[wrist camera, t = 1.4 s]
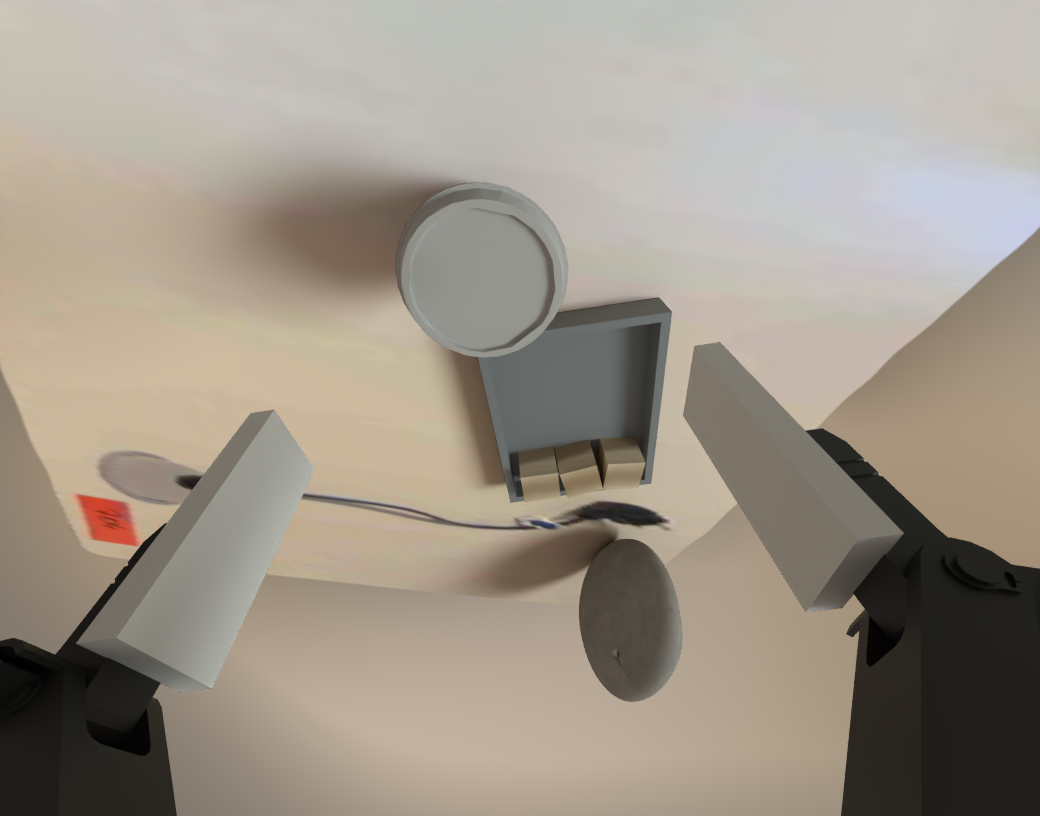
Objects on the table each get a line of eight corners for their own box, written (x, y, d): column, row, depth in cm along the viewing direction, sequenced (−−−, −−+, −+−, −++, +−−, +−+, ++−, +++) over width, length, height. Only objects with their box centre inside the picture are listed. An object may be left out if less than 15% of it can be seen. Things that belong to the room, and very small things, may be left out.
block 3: (599, 438, 44) (608, 464, 41) (634, 437, 44) (645, 462, 41) (595, 463, 46) (603, 489, 43) (628, 461, 47) (638, 487, 44)
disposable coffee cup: (442, 299, 33) (424, 376, 24) (404, 172, 28) (361, 208, 18) (551, 279, 33) (577, 349, 24) (536, 145, 27) (563, 168, 18)
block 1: (517, 451, 44) (520, 478, 41) (553, 446, 44) (557, 472, 41) (522, 474, 47) (524, 501, 44) (555, 470, 47) (560, 496, 44)
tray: (474, 325, 35) (474, 341, 33) (659, 297, 35) (672, 311, 32) (509, 483, 48) (510, 502, 46) (642, 464, 48) (651, 483, 46)
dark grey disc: (594, 582, 65) (625, 723, 50) (557, 575, 63) (578, 720, 48) (663, 518, 55) (727, 669, 40) (622, 507, 53) (674, 663, 38)
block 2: (554, 448, 44) (559, 474, 41) (588, 439, 44) (596, 465, 41) (562, 471, 47) (568, 497, 44) (595, 462, 46) (603, 488, 43)
